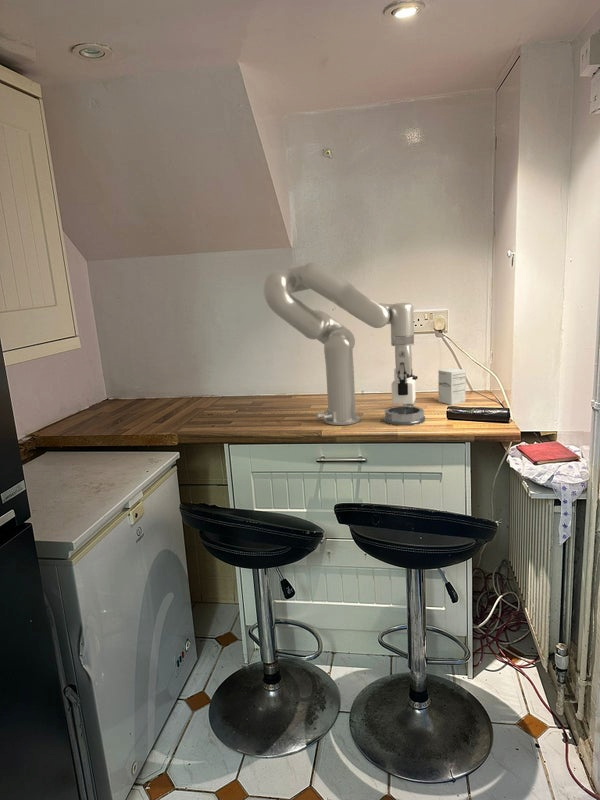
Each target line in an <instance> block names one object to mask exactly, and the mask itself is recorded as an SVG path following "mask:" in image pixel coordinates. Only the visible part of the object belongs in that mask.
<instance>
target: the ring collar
mask: <svg viewBox="0 0 600 800" xmlns="http://www.w3.org/2000/svg"><path fill="white" fill-rule="evenodd" d="M425 421H426V416H425V411H424V408H421V407H418V406H415V405H414V406H404V405H400V406H398V405H396V406H393V407H392V406H391V407H388V408H387V409H384V417H383V422H384V423H385V424H387V425H391V424H392V425H391V426H398V425H409V426H415V425H414V424H417V425H421V424H423V423H425ZM420 423H421V424H420Z"/></svg>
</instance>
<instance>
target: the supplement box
mask: <svg viewBox="0 0 600 800" xmlns="http://www.w3.org/2000/svg"><path fill="white" fill-rule="evenodd" d="M466 373H467V371H466V369H461V368H455V367H448V368H443V369H438V399H437V400H438V403H443V404H446V405H450V406H455V405H458V404H459V403H460V404H463V402H464V403H466V384H467V383H466V380H467V378H466ZM460 404H459V405H460Z"/></svg>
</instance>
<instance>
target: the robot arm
mask: <svg viewBox="0 0 600 800" xmlns="http://www.w3.org/2000/svg"><path fill="white" fill-rule="evenodd" d="M307 290H311V291H313V292H315V293H317V294H318V295H320V296H322V297H323V298H325V299H327V300H328V301H330V302H332V303H333V304H334V305H336V306H337V307H339V308H340V309H343V310H344V311H345V312H347V313H348V314H350V315H351V316H353V317H354V318H357V320H360V321H361V322H363V323H364V324H366V325H368V326H369V327H372V328H374V329H381V328H383V327H385V326H386V325H390V345H391V347H394V358H395V364H394V365H395V368H396V374H397V375H398V395H408V383H407V374H409V375H411V373H412V374H413V363H412V361H413V357H412V355H413V354H412V346H414V345H415V331H414V330H415V329H414V328H415V327H414V323H415V322H414V320H415V319H414V306H413V304H412V303H411V302H399V303H397V302H396V303H382V302H381V303H379V302H376V301H375V300H373V299H371V298H370V297H368V296H367V295H365V294H363V293H362V292H360V291H359V290H358V289H357V288H356V287H355V286H354V284H352V283H351V282H349V281H348V280H347V279H345V278H343V277H341V276H340V275H338V274H336V273H334V272H333V271H331V270H330V269H328V268H326V266H325V265H324V264H322V263H320V262H318V261H310V262H307V263H305V264H304V265H300V266H295V267H291V268H286V269H276V270H273V271H271V272H270V273H269V274H268V275H267V276H266V278H265V280H264V283H263V296H264V299H265V303H266V304H267V306H268V307H269V308H270V309H271V311H273V313H275V314H276V315H277V316H278V317H279V318H280V319H282V320H284V321H285V322H286V323H287V324H288V325H290V326H291V327H293V328H294V329H295V330H296V331H298V332H299V333H301V334H302V335H303V336H304V337H306V338H307V339H309V340H317V341H319V342H320V343H321V344H323V354H324V361H325V362H324V363H325V374H326V377H325V378H326V388H327V389H326V393H327V408H325V411H323V412H318V413H315V419H317V420H321V419H323V421H324V423H325V424H327V425H333V426H347V425H353V424H357V423H358V422H360V421H361V416H360V414H359V415H358V414H356V396H355V395H356V393H355V392H356V391H355V370H354V368H355V367H354V352H353V351H354V347H355V345H356V338H355V335H354V334H353V333H352V331H351V330H350V329H348V328H347V327H346V326H344V325H343V324H342V323H340V321H338V320H336V319H334V318H333V317H332V316H330V315H329V314H328V313H326V312H324V311H322V310H317V309H315V310H314V309H312V308H310V307H309V306H307V305H306V304H305V303H303V301H301V300H299V299H298V298H296V297H295V296H294V295H292V294H293V293H297V292H301V291H307ZM404 367H405V368H404ZM404 373H406V374H404Z"/></svg>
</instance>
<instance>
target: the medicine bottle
mask: <svg viewBox="0 0 600 800" xmlns="http://www.w3.org/2000/svg"><path fill="white" fill-rule="evenodd" d="M404 368H405V367H404ZM393 369H394V370H393V372H394V373H393V374H394V375H393V376H394V377H393V378H394V380H393V382H392V383H391V404H392V405H403V404H413V403H414V402H416V400H417V399H416V398H417V397H416V395H417V394H416V380H414V379H412V375H413V372H412V373H411V375H409V374H407V383H408V395H398V375H397V374H396V367H395V368H393ZM404 374H406V373H404Z"/></svg>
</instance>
